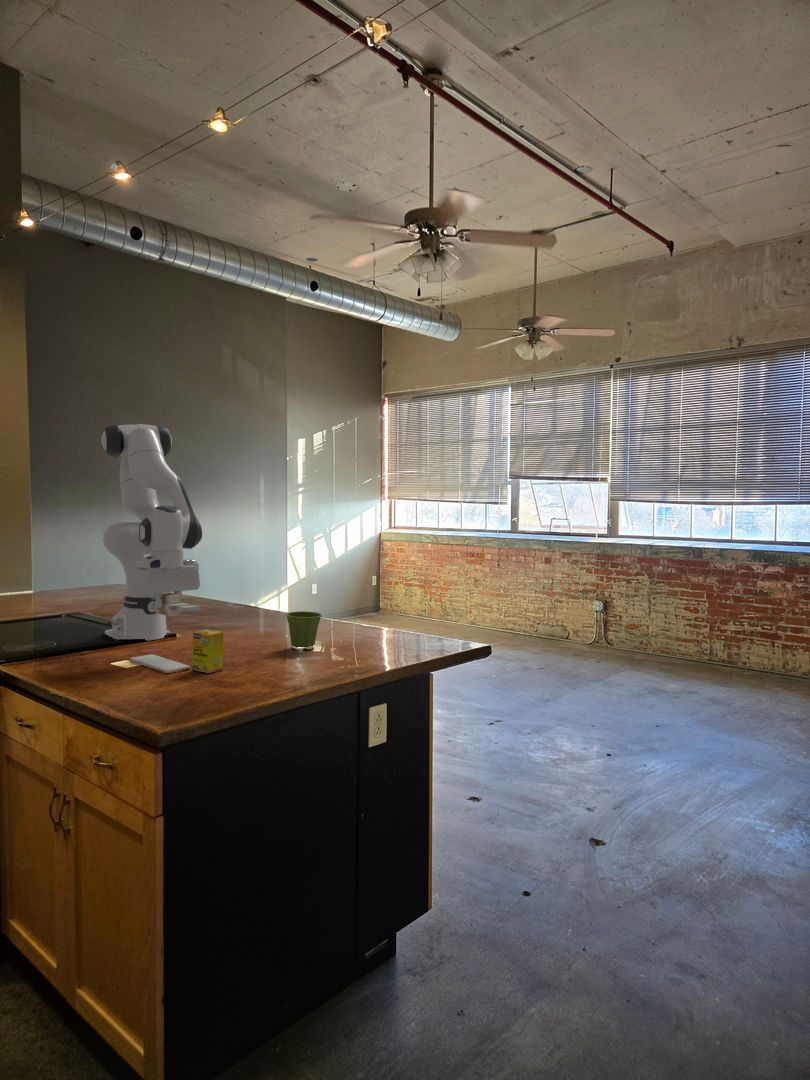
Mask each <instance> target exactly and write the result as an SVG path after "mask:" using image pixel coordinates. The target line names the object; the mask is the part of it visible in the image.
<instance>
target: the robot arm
mask: <svg viewBox="0 0 810 1080" xmlns="http://www.w3.org/2000/svg"><path fill="white" fill-rule="evenodd" d="M100 442H101V445H102V447H103V450H104V453H105V454H106V455H108V456H110V457H114V458H119V457H121V460H120V465H119V482H120V485H119V486H120V492H121V501H122V506H123V508H124V509H125V510H126V511H127V512H128V513H131V514H133V515H135V516H136V517H137V518H138V519H139V520H140V521H123V522H117V523H113V524H109V526H107V527H106V529H105V531H104V532H103V535H102V536H103V537H102V541H103V545H104V547H105V549H106V550H107V551H108V553H110V554H111V555H112V556H114V557H116V559H117V560H118V561H119V563H120V565H121V566H122V568H123V571H124V575H125V587H126V588H125V589H126V591H125V592H126V595H125V596H123V597H122V598H123V599H122V600H123V604H122V605H123V606H122V608H120V610H119V611H118V612H117V613H116V614H115V615H113V617H112V619H111V621H110V623H111V626H112V627H111V629H107V630H105V631H104V634H105V635H107V637H110V638H111V637H112V639H113V638H114V639H113V640H115V639H118V640H119V639H145V640H146V641H152V640H153V641H155V640H160V639H164V638H165V637H164V636H165V635H166V634H167V633H169V634H170V630H168V629H167V628H168V627H167V619H166V618H167V617H166V616H167V615H162V614H157V613H156V602H157V608H164V607H165V606H164V604H165V602H162V601H161V599H160V597H161V593H173V594H177V595H180V598H181V597H182V592H186V591H187V592H188V591H197V590H198V589H199V588H200V586H201V580H200V573H199V569H200V567H199V563H198V561H196V560H195V559H184V549H186V550H187V549H188V550H191V549H193V548H195V547H196V546H197V545H198V544H200V542H201V541H202V538H203V528H202V525H201V522H200V521H199V519H198V518H197V516H196V513H195V512H194V510H193V505H192V504H191V502H190V499H189V496H188V495H187V491H186V489H185V486H184V484H183V481H182V480H181V478H180V476H179V475H178V474H177V473H176V472H175V471H173V470H172V469H171V468H170V466H169V465H168V464H167V463H168V462H166V459H165V457H166V456H167V455H168V454H169V453H171V448H172V445H173V437H172V435H171V432H170V429H168V427H166V426H163V425H161V424H156V425H153V424H152V425H151V424H145V423H136V424H120V425H117V424H112V425H107V426H106V427H105V428H104V429H103V432H102V435H101V441H100ZM157 492H160V493H161V494H164V495H165V496H167V497H168V498H170V500H171V501H172V504H173V506H172V505H160V504H159V500H158V499H159V498H158V495H157ZM145 555H146V556H145ZM167 635H168V634H167ZM167 635H166V636H167Z"/></svg>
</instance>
